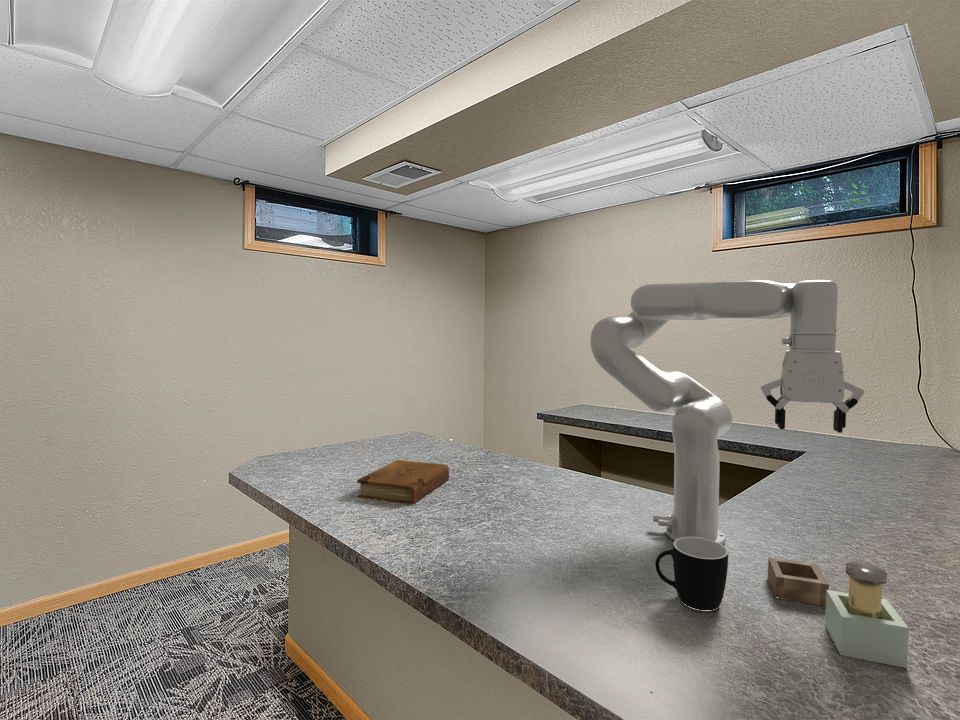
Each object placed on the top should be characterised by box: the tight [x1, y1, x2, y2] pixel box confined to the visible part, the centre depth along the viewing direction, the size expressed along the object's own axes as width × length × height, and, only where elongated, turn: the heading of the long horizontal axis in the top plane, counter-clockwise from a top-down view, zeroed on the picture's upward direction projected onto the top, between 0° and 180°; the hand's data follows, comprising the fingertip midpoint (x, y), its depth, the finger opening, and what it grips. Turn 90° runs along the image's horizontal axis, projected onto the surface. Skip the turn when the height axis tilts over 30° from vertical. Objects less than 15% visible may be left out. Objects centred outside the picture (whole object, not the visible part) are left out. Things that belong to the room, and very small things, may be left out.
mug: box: [654, 537, 729, 610], centre depth 90 cm, size 12×9×10 cm
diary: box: [356, 459, 450, 505], centre depth 153 cm, size 23×19×6 cm
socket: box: [824, 589, 910, 669], centre depth 77 cm, size 8×8×6 cm
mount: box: [767, 556, 830, 607], centre depth 92 cm, size 8×8×4 cm
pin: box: [845, 561, 888, 619], centre depth 77 cm, size 5×5×12 cm
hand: (808, 429), depth 100 cm, fingers open, 9 cm apart
